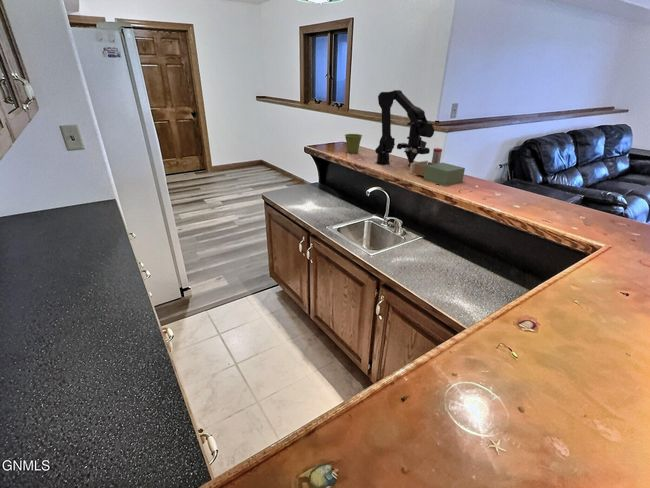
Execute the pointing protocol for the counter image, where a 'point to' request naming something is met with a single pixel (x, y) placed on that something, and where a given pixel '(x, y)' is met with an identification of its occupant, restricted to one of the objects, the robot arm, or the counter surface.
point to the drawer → (419, 167)
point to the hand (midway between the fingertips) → (410, 164)
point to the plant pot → (353, 142)
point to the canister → (436, 155)
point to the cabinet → (444, 173)
